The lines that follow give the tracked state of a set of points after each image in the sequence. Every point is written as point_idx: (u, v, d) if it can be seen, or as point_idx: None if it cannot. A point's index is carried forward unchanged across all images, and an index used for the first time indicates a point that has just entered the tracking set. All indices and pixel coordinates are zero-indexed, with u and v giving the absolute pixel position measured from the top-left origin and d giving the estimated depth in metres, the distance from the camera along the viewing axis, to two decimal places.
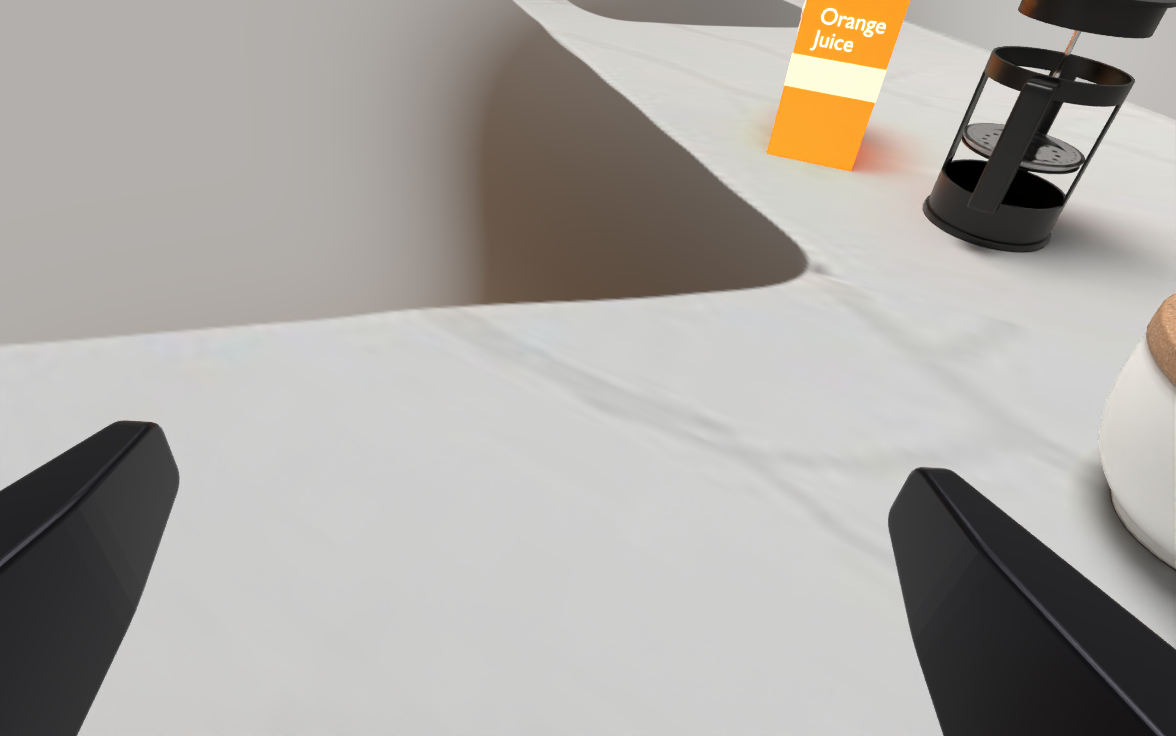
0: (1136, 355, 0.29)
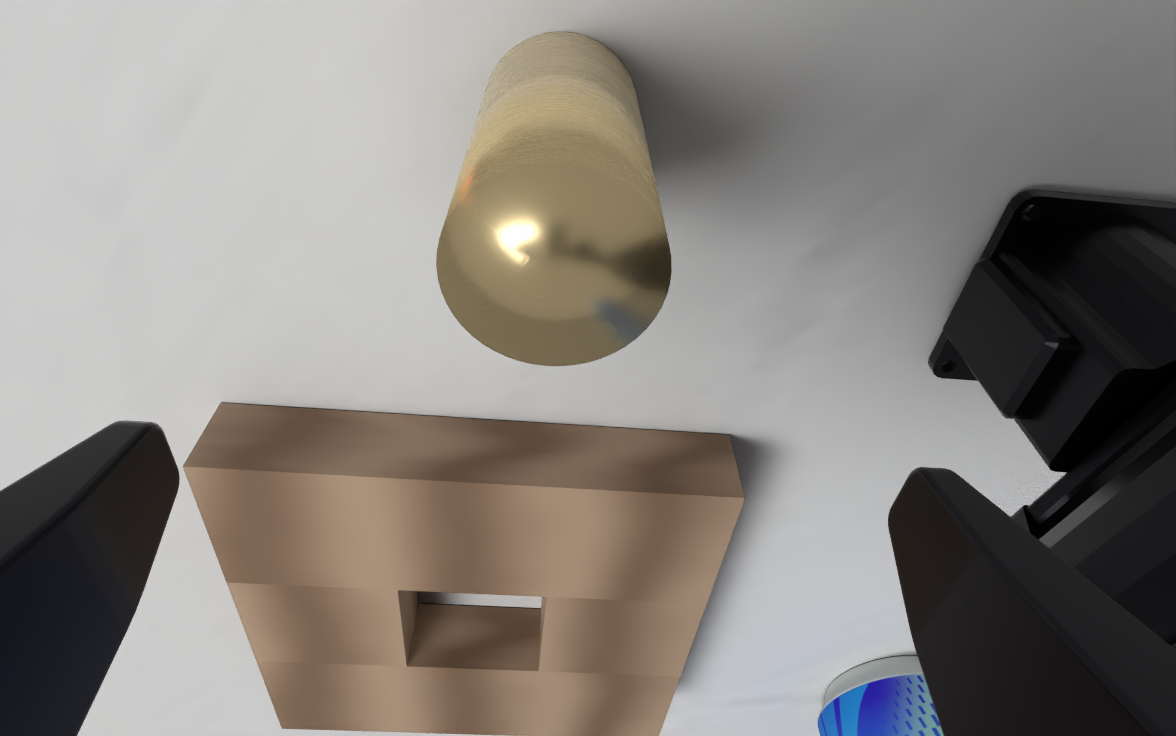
0: None
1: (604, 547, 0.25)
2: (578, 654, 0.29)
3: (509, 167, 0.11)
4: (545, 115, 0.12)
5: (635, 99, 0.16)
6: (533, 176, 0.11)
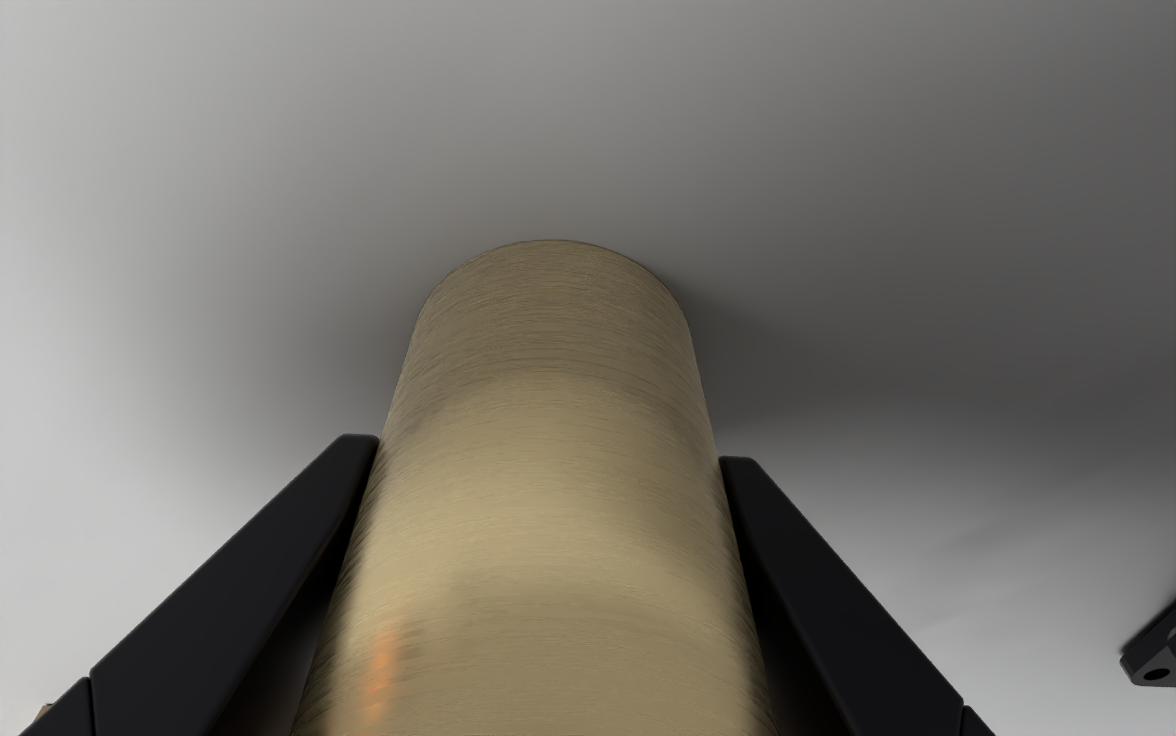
0: None
1: None
2: None
3: None
4: (496, 716, 0.04)
5: (698, 387, 0.08)
6: None
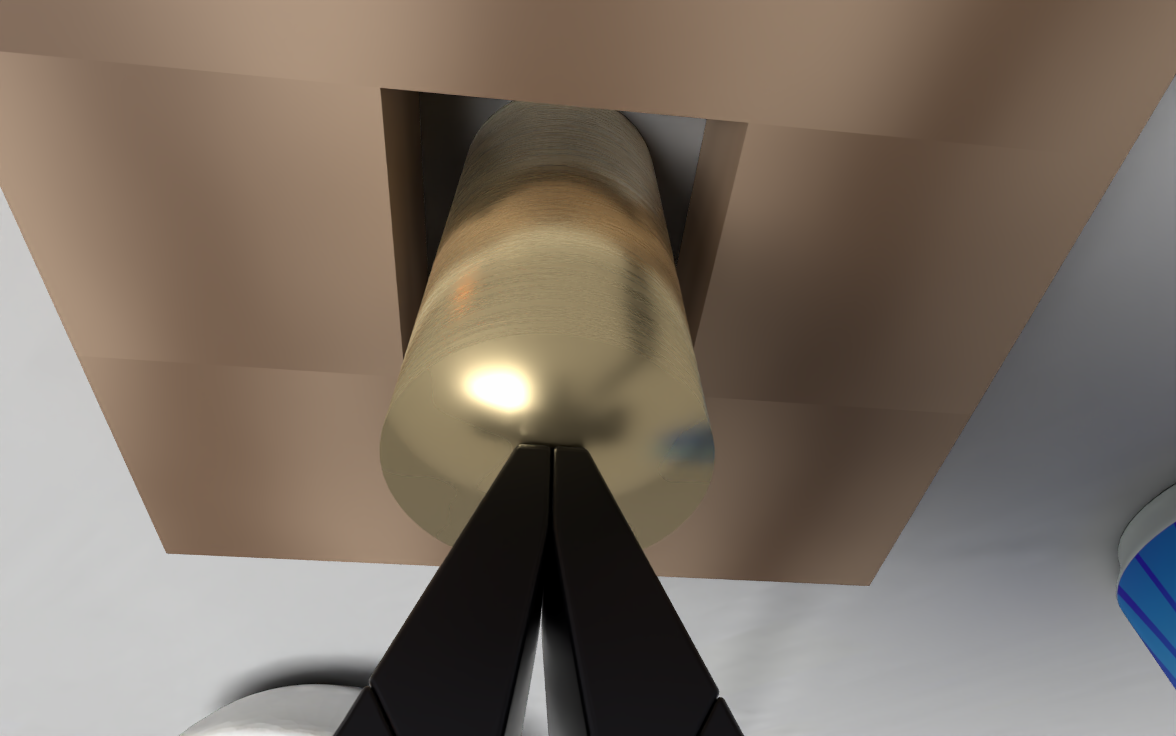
0: None
1: None
2: (778, 341, 0.13)
3: (480, 341, 0.07)
4: (536, 239, 0.09)
5: (653, 179, 0.13)
6: (516, 354, 0.07)
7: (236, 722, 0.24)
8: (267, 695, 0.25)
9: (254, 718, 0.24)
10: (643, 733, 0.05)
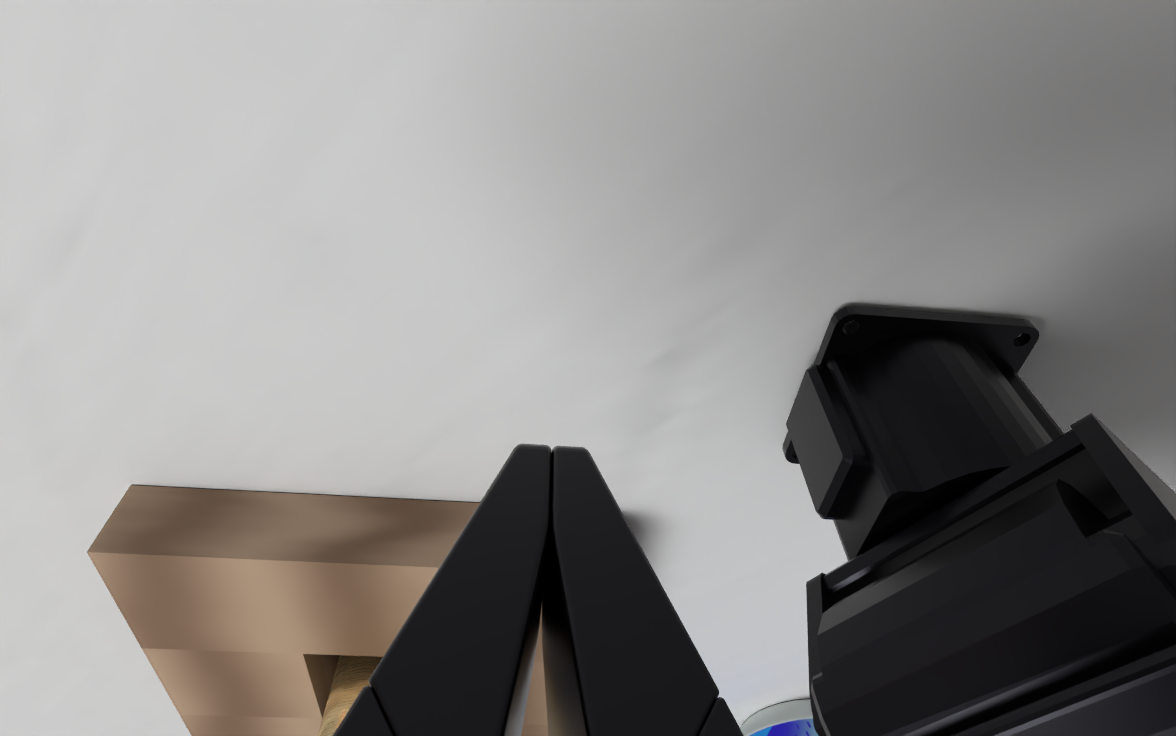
0: None
1: None
2: None
3: None
4: None
5: None
6: None
7: None
8: None
9: None
10: (643, 733, 0.05)
